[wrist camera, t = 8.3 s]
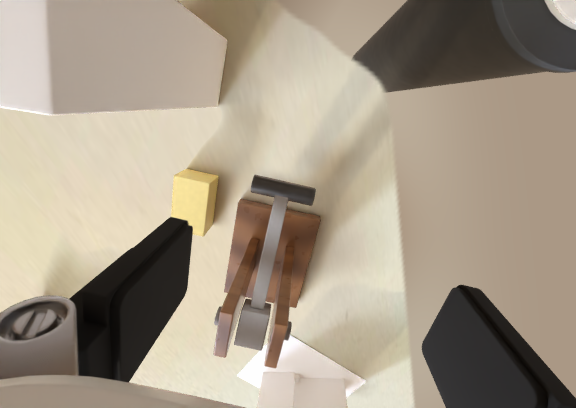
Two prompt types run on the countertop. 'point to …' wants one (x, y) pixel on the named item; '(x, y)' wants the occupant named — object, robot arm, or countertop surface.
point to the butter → (195, 199)
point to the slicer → (284, 277)
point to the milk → (107, 56)
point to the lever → (267, 258)
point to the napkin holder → (300, 379)
